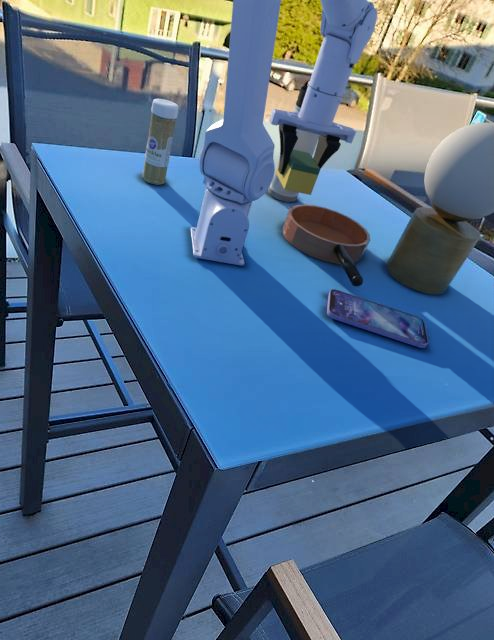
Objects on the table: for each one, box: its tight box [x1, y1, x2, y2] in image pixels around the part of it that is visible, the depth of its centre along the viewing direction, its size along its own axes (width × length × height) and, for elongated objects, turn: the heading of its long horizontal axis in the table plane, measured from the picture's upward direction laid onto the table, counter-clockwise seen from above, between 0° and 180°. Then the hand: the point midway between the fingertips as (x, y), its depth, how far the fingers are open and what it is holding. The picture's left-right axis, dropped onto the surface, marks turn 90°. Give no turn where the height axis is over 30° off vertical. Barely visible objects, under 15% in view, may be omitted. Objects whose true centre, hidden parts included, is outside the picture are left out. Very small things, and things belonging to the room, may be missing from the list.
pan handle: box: [334, 244, 364, 288], centre depth 78 cm, size 12×2×2 cm, turn 5°
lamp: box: [385, 122, 494, 296], centre depth 81 cm, size 15×14×25 cm
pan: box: [282, 204, 371, 265], centre depth 88 cm, size 15×15×4 cm
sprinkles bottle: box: [141, 98, 180, 186], centre depth 87 cm, size 5×5×14 cm
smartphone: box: [326, 288, 429, 349], centre depth 72 cm, size 7×1×15 cm
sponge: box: [276, 149, 321, 196], centre depth 86 cm, size 8×5×4 cm, turn 6°
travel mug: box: [267, 85, 319, 203], centre depth 95 cm, size 6×7×20 cm
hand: (295, 175), depth 87 cm, fingers closed on sponge, 5 cm apart
